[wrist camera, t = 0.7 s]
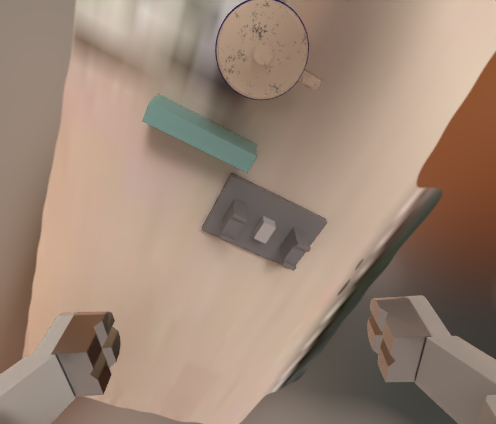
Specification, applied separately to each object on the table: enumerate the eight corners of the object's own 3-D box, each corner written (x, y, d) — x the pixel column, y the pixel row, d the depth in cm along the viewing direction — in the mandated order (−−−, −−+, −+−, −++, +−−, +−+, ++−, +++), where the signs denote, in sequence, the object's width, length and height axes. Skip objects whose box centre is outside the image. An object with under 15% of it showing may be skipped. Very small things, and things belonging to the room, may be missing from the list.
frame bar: (159, 93, 44) (149, 101, 40) (256, 143, 47) (256, 156, 43) (152, 111, 45) (142, 121, 41) (247, 159, 49) (247, 173, 44)
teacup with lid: (208, 61, 42) (195, 75, 32) (244, -17, 38) (243, -29, 28) (291, 111, 45) (304, 138, 35) (333, 43, 41) (361, 51, 31)
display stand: (231, 173, 49) (230, 190, 44) (325, 219, 53) (333, 239, 48) (202, 226, 54) (197, 247, 49) (291, 265, 57) (295, 288, 52)
